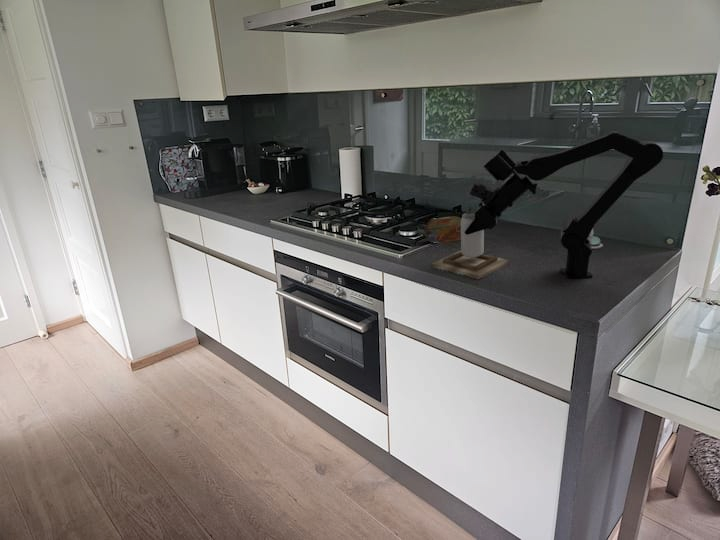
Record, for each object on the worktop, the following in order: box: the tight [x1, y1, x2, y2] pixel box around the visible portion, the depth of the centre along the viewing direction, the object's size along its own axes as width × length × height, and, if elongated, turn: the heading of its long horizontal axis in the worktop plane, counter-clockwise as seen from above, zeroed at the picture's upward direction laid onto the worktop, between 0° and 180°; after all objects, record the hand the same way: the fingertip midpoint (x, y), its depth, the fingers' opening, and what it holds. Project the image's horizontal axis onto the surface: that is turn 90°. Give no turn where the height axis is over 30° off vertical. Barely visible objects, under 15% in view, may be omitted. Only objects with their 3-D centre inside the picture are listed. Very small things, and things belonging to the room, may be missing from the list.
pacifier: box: [587, 228, 604, 250], centre depth 155 cm, size 7×6×6 cm
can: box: [460, 211, 485, 257], centre depth 141 cm, size 6×6×12 cm
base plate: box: [431, 250, 509, 280], centre depth 144 cm, size 16×16×2 cm
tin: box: [424, 215, 462, 244], centre depth 166 cm, size 15×3×8 cm, turn 105°
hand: (467, 230), depth 141 cm, fingers closed on can, 6 cm apart
